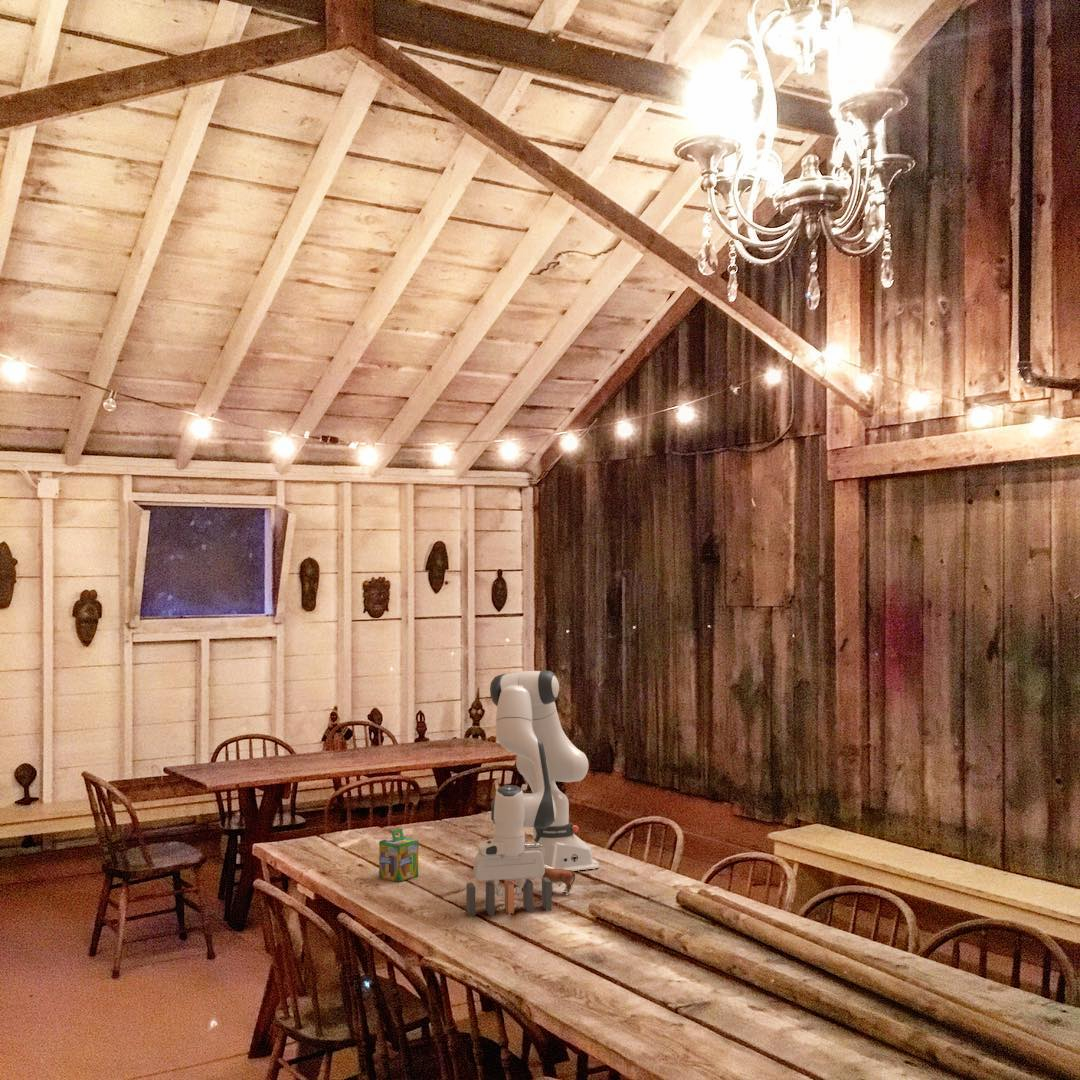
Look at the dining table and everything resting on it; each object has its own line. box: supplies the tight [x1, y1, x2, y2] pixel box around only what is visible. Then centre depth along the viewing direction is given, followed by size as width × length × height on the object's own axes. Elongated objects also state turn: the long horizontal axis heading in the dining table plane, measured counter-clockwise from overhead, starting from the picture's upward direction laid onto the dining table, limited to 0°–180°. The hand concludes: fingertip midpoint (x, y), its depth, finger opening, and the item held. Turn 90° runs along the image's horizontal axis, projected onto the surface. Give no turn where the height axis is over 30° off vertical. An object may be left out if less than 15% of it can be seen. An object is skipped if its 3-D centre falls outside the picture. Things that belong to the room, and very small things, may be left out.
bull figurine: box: [541, 864, 576, 895], centre depth 326 cm, size 4×13×8 cm, turn 59°
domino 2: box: [484, 880, 496, 916], centre depth 305 cm, size 2×5×8 cm, turn 15°
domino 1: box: [465, 882, 476, 918], centre depth 304 cm, size 2×5×8 cm, turn 15°
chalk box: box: [378, 828, 420, 883], centre depth 342 cm, size 9×9×15 cm
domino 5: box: [541, 877, 553, 911], centre depth 309 cm, size 2×5×8 cm, turn 15°
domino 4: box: [522, 878, 534, 913], centre depth 308 cm, size 2×5×8 cm, turn 15°
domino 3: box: [504, 879, 515, 914], centre depth 307 cm, size 2×5×8 cm, turn 15°
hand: (509, 894), depth 307 cm, fingers open, 4 cm apart
